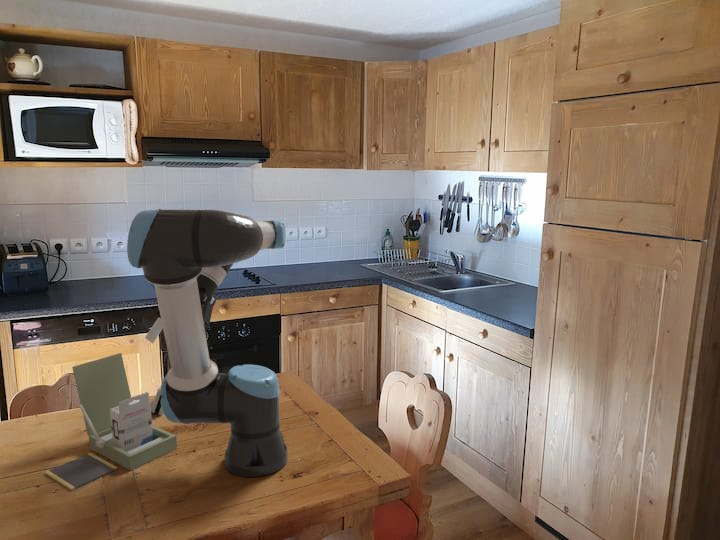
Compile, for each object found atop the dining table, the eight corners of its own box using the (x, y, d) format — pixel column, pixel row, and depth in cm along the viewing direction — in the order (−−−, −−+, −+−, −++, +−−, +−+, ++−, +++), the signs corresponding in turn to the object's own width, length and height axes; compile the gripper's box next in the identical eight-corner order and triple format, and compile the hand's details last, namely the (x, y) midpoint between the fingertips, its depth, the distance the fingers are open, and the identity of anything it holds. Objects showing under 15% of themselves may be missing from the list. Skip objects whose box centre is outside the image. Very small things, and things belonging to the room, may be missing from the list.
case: (177, 448, 142) (172, 370, 138) (127, 472, 130) (120, 388, 127) (125, 424, 155) (119, 352, 151) (76, 444, 144) (68, 367, 140)
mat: (117, 469, 132) (117, 467, 132) (71, 490, 123) (71, 488, 123) (90, 454, 139) (90, 452, 138) (45, 473, 130) (44, 471, 130)
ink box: (143, 439, 146) (139, 386, 144) (154, 445, 143) (150, 391, 141) (112, 451, 140) (107, 397, 137) (122, 458, 137) (118, 402, 134)
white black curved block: (166, 392, 177) (175, 364, 175) (180, 396, 177) (189, 369, 175) (145, 415, 161) (154, 384, 159) (160, 420, 161) (170, 390, 159)
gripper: (245, 293, 151) (204, 361, 142) (186, 281, 165) (145, 343, 156) (229, 277, 146) (185, 347, 137) (170, 267, 160) (127, 329, 151)
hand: (164, 345), depth 146 cm, fingers open, 13 cm apart
